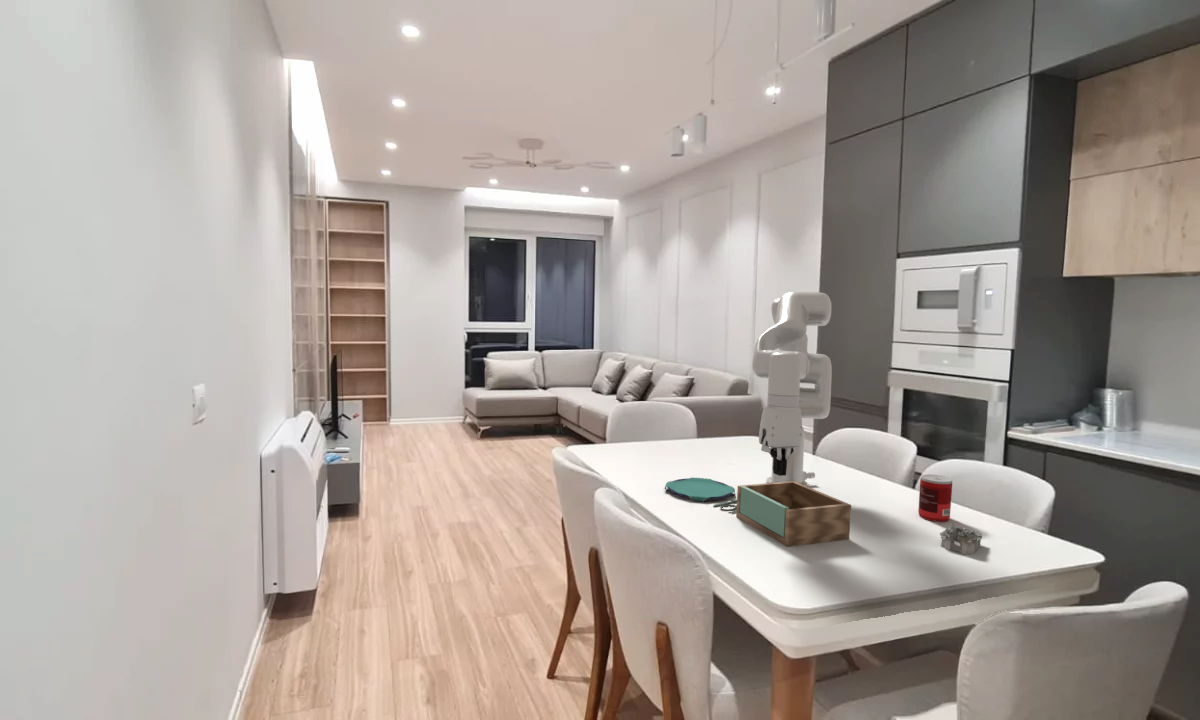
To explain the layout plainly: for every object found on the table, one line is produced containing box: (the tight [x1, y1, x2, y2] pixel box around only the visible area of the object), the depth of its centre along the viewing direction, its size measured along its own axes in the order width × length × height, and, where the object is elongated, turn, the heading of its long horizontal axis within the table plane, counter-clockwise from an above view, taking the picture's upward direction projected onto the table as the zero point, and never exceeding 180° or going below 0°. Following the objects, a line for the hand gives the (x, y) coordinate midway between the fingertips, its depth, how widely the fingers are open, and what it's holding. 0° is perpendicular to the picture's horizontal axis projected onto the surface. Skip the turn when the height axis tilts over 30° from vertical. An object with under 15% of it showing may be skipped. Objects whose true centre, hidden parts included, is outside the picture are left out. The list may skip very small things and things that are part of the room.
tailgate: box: [740, 486, 789, 537], centre depth 154 cm, size 1×19×7 cm, turn 20°
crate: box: [735, 481, 852, 547], centre depth 157 cm, size 18×22×8 cm
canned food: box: [917, 473, 953, 523], centre depth 168 cm, size 8×8×11 cm
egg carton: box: [939, 523, 983, 555], centre depth 147 cm, size 11×8×4 cm
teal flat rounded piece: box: [664, 477, 737, 515], centre depth 183 cm, size 20×30×2 cm, turn 33°
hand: (779, 474), depth 155 cm, fingers closed
